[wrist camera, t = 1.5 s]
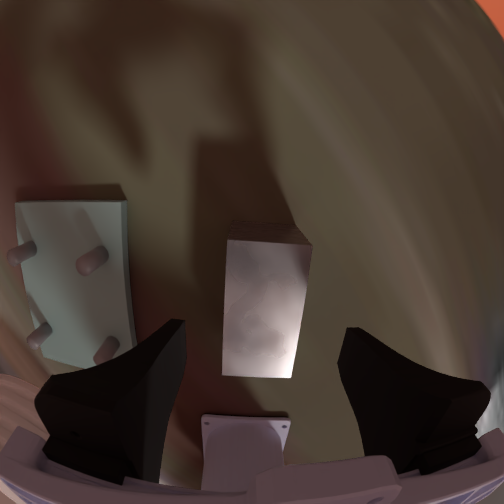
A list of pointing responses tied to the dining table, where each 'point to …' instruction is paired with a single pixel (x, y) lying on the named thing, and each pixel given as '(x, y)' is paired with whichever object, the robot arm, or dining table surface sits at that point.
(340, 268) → the dining table surface
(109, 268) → the grey plate with pegs
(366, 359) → the robot arm
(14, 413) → the plate stack
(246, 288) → the pale pink block
